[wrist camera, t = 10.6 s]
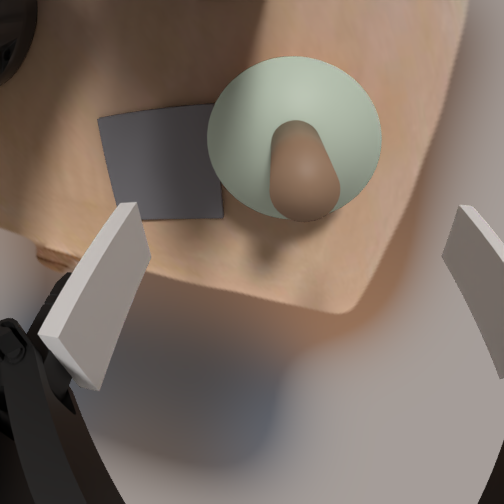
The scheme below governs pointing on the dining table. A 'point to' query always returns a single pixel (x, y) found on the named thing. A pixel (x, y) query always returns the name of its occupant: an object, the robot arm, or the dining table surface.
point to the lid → (294, 138)
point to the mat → (163, 162)
